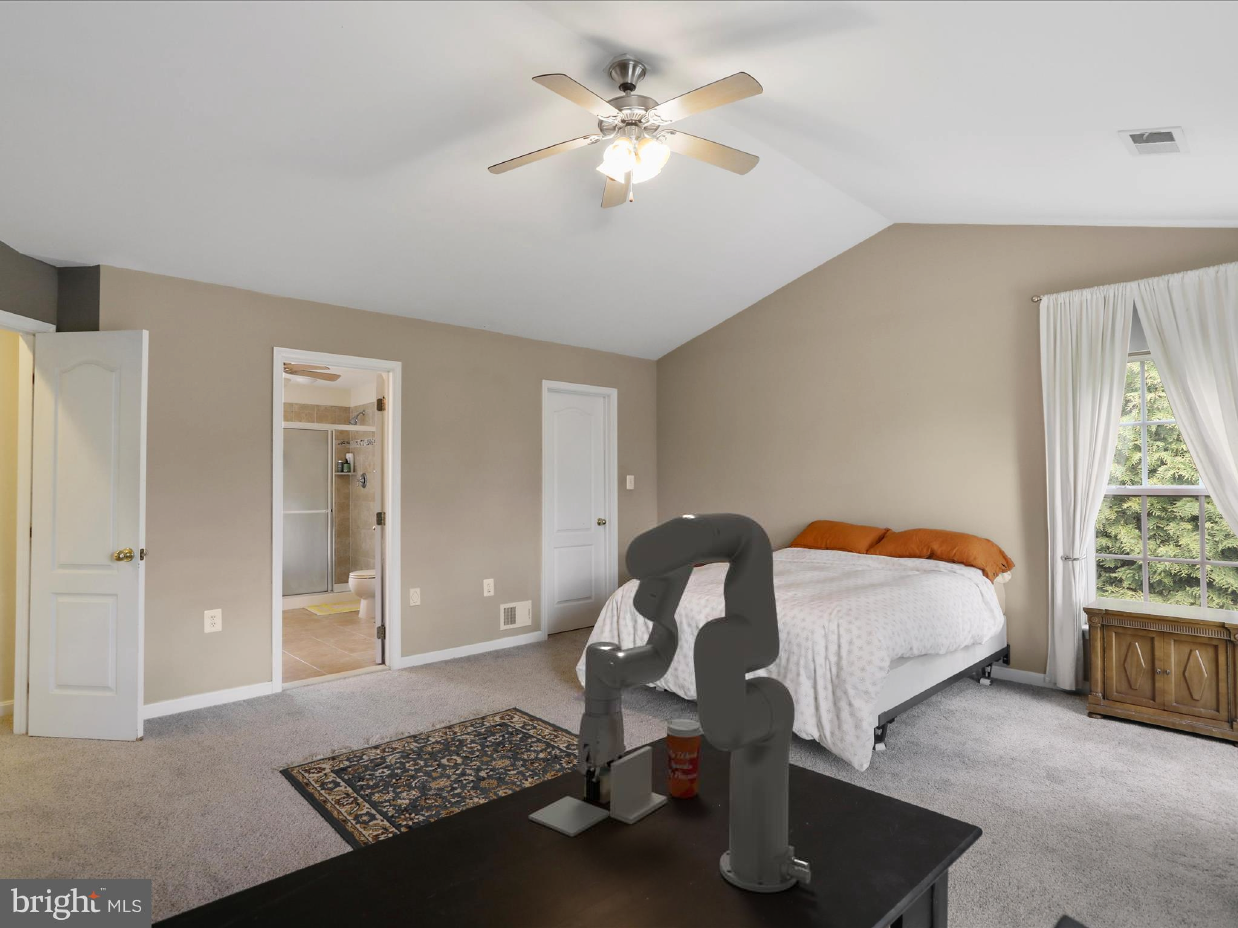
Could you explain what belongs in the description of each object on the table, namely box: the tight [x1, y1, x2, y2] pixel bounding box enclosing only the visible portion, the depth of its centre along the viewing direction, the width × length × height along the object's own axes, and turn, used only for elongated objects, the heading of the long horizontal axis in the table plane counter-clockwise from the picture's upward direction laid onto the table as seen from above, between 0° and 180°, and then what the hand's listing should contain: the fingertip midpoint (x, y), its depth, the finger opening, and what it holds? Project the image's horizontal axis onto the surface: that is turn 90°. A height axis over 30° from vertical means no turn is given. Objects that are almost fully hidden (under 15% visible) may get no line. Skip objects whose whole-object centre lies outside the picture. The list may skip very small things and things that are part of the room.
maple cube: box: [583, 764, 611, 805], centre depth 146 cm, size 5×5×5 cm
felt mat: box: [528, 795, 610, 838], centre depth 136 cm, size 11×11×1 cm
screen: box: [609, 745, 668, 825], centre depth 140 cm, size 5×12×10 cm, turn 142°
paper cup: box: [665, 718, 704, 799], centre depth 148 cm, size 8×8×14 cm
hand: (601, 793), depth 145 cm, fingers closed on maple cube, 5 cm apart
